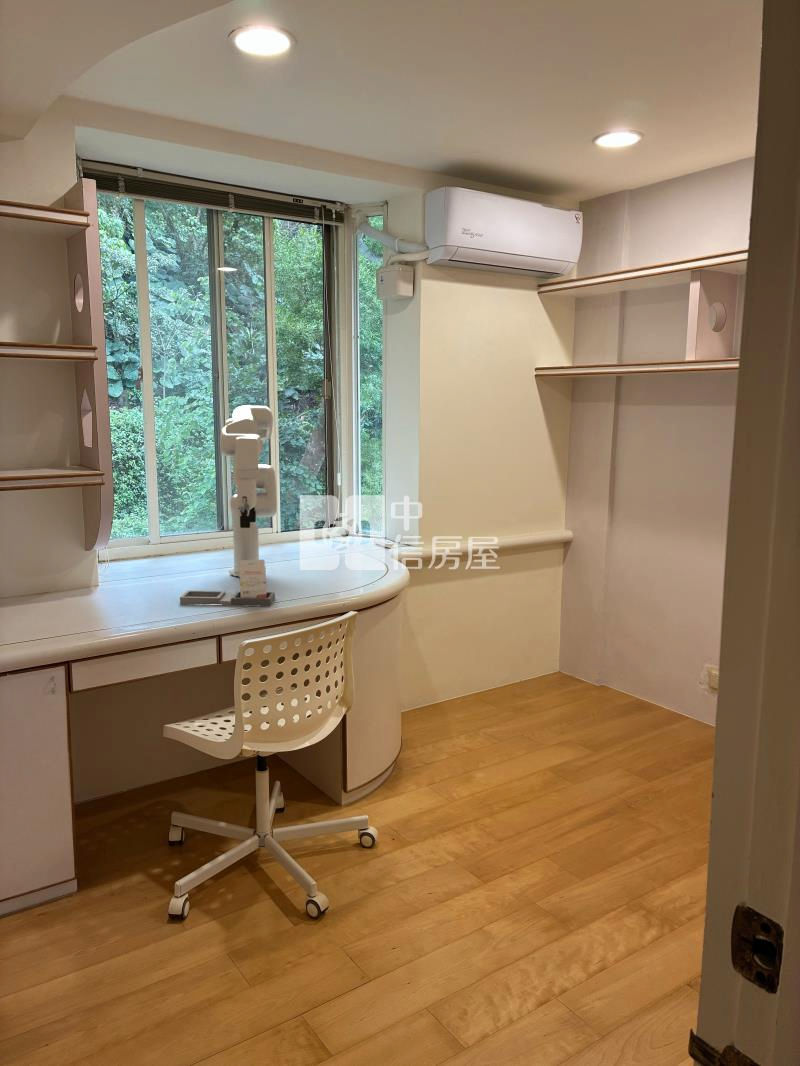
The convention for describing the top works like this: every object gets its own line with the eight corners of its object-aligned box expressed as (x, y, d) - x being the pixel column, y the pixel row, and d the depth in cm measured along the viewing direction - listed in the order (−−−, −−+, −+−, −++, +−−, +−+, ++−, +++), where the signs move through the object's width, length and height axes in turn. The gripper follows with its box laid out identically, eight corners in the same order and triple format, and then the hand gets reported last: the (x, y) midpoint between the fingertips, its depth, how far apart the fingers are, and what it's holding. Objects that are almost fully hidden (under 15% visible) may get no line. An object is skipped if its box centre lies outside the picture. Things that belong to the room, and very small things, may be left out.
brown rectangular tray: (187, 597, 272) (187, 590, 271) (225, 598, 272) (225, 591, 271) (180, 604, 263) (179, 597, 263) (219, 605, 263) (218, 598, 262)
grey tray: (225, 598, 272) (225, 591, 271) (275, 599, 271) (274, 592, 271) (219, 605, 263) (218, 598, 262) (270, 606, 262) (270, 599, 262)
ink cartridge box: (266, 598, 270) (266, 556, 268) (266, 602, 266) (265, 559, 263) (241, 599, 269) (240, 557, 267) (240, 603, 264) (239, 560, 262)
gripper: (241, 470, 271) (242, 519, 274) (230, 477, 254) (231, 529, 257) (263, 471, 271) (264, 520, 274) (253, 478, 254) (254, 530, 257)
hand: (248, 524), depth 266 cm, fingers open, 9 cm apart
